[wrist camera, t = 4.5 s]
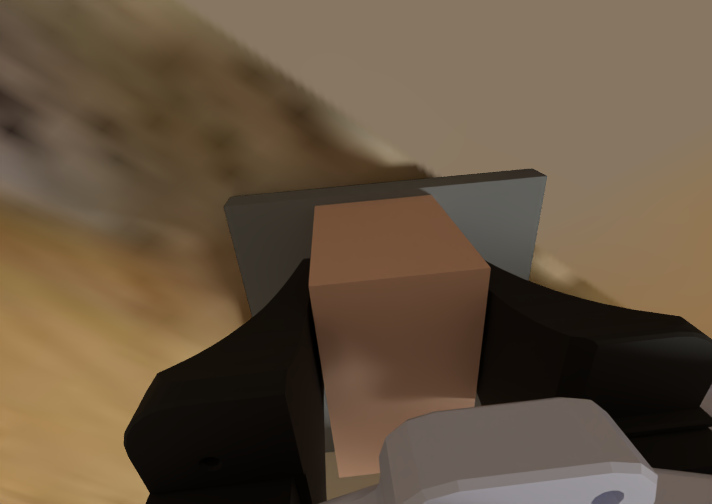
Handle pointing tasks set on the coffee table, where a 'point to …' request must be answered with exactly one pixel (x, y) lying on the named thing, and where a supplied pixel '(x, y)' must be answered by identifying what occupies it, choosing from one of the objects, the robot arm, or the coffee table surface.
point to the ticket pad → (344, 479)
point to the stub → (393, 319)
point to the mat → (453, 193)
